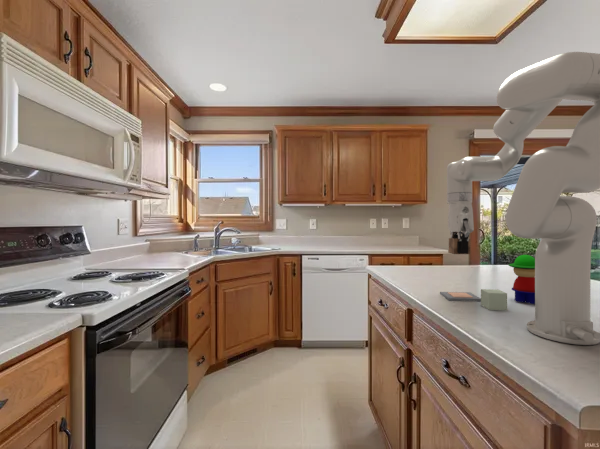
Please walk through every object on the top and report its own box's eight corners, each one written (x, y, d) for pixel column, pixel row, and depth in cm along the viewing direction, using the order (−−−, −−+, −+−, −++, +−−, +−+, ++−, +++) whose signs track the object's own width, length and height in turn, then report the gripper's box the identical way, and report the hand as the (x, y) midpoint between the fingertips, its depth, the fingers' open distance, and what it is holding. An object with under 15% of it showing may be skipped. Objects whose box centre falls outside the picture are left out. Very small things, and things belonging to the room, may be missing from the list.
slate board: (481, 301, 96) (481, 298, 96) (449, 300, 98) (449, 297, 98) (469, 294, 105) (469, 291, 105) (440, 294, 106) (439, 291, 106)
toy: (504, 300, 97) (504, 254, 96) (513, 296, 102) (512, 252, 102) (539, 306, 90) (539, 257, 89) (546, 301, 95) (546, 254, 95)
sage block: (507, 310, 87) (507, 293, 87) (488, 310, 88) (488, 293, 88) (498, 305, 92) (498, 289, 92) (480, 305, 93) (480, 289, 92)
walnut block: (470, 254, 98) (470, 239, 98) (454, 254, 99) (454, 239, 99) (463, 252, 103) (463, 238, 103) (448, 252, 104) (448, 238, 104)
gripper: (483, 196, 92) (483, 255, 92) (461, 200, 109) (461, 249, 109) (457, 197, 93) (457, 255, 93) (439, 200, 110) (439, 249, 110)
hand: (459, 251), depth 101 cm, fingers closed on walnut block, 5 cm apart
